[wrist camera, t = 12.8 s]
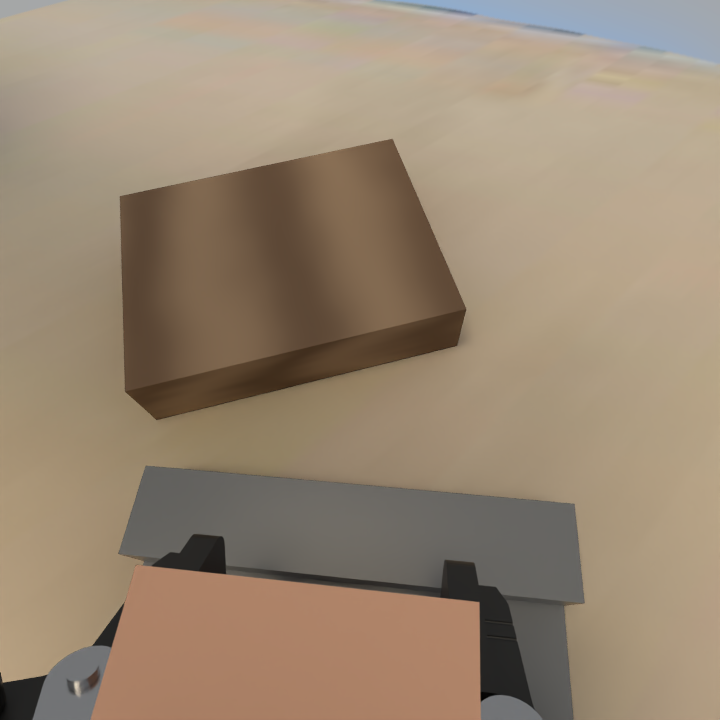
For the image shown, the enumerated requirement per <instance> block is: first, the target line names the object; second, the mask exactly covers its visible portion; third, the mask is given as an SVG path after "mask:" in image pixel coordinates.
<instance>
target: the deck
mask: <svg viewBox="0 0 720 720" xmlns="http://www.w3.org/2000/svg"><path fill="white" fill-rule="evenodd" d="M120 216H121V254H122V292H123V330H124V367H125V392H126V393H127V394H129V395H130V396H131V397H132V398H133V399H134V400H135V401H136V402H137V403H139V404H140V405H141V406H142V407H143V408H144V409H145V410H146V411H147V412H148V413H150V414H151V415H152V416H153V417H154V418H155V419H156V420H157V419H161V418H165V417H169V416H173V415H177V414H181V413H185V412H190V411H194V410H198V409H202V408H206V407H210V406H214V405H218V404H222V403H226V402H230V401H234V400H238V399H242V398H246V397H250V396H254V395H258V394H262V393H266V392H270V391H274V390H279V389H283V388H287V387H291V386H295V385H299V384H303V383H307V382H311V381H315V380H319V379H323V378H327V377H331V376H335V375H339V374H343V373H347V372H351V371H355V370H359V369H364V368H368V367H372V366H376V365H380V364H384V363H388V362H392V361H396V360H400V359H404V358H408V357H412V356H416V355H420V354H424V353H428V352H432V351H436V350H440V349H444V348H449V347H453V346H457V343H458V339H459V335H460V332H461V328H462V324H463V320H464V316H465V312H466V307H465V305H464V303H463V301H462V298H461V296H460V294H459V291H458V289H457V287H456V284H455V282H454V280H453V277H452V275H451V273H450V271H449V268H448V266H447V264H446V261H445V259H444V257H443V254H442V252H441V250H440V247H439V245H438V243H437V241H436V238H435V236H434V234H433V231H432V229H431V227H430V224H429V222H428V220H427V218H426V215H425V213H424V211H423V208H422V206H421V204H420V201H419V199H418V197H417V194H416V192H415V190H414V188H413V185H412V183H411V181H410V178H409V176H408V174H407V171H406V169H405V167H404V164H403V162H402V160H401V158H400V155H399V153H398V151H397V148H396V146H395V144H394V141H393V139H390V140H385V141H380V142H375V143H371V144H366V145H361V146H356V147H352V148H347V149H342V150H337V151H333V152H328V153H323V154H318V155H314V156H309V157H304V158H299V159H295V160H290V161H285V162H280V163H276V164H271V165H266V166H261V167H257V168H252V169H247V170H243V171H238V172H233V173H228V174H224V175H219V176H214V177H209V178H205V179H200V180H195V181H190V182H186V183H181V184H176V185H171V186H167V187H162V188H157V189H152V190H148V191H143V192H138V193H133V194H129V195H124V196H120Z"/></svg>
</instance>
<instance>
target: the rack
mask: <svg viewBox="0 0 720 720" xmlns="http://www.w3.org/2000/svg"><path fill="white" fill-rule="evenodd" d="M193 534H203V535H213V536H222V537H223V538H224V541H225V558H226V575H235V576H244V577H253V578H262V579H271V580H280V581H290V582H299V583H308V584H317V585H326V586H336V587H345V588H354V589H363V590H372V591H382V592H391V593H400V594H409V595H418V596H427V597H437V598H440V595H441V585H442V576H443V567H444V561H445V560H455V561H464V562H474V563H475V567H476V573H477V578H478V584H479V585H483V586H493V587H496V588H497V589H498V590H499V592H500V593H501V594H502V596H503V597H504V598H505V600H506V601H507V603H508V604H509V608H510V612H511V616H512V621H513V626H514V629H515V633H516V637H517V642H518V645H519V650H520V654H521V658H522V662H523V666H524V670H525V674H526V679H527V683H528V687H529V691H530V695H531V699H532V703H533V706H534V709H535V711H536V712H537V713H538V714H539V715H540V716H541V718H542V719H543V720H573V709H572V697H571V685H570V673H569V661H568V649H567V637H566V625H565V613H564V606H566V605H575V604H583V603H584V593H583V583H582V573H581V563H580V553H579V543H578V533H577V524H576V514H575V504H570V503H558V502H549V501H538V500H527V499H516V498H504V497H493V496H482V495H471V494H459V493H448V492H437V491H426V490H415V489H403V488H392V487H381V486H370V485H359V484H347V483H336V482H325V481H314V480H302V479H291V478H280V477H269V476H258V475H246V474H235V473H224V472H213V471H201V470H190V469H179V468H166V467H155V466H145V469H144V473H143V476H142V479H141V482H140V486H139V489H138V492H137V495H136V499H135V502H134V505H133V508H132V512H131V515H130V518H129V521H128V524H127V528H126V531H125V534H124V537H123V541H122V544H121V547H120V550H119V554H120V555H124V556H128V557H132V558H135V559H139V560H143V561H144V563H143V566H152V565H153V564H154V563H155V562H157V561H158V560H160V559H161V558H162V557H164V556H165V555H167V554H168V553H169V552H175V553H180V552H181V550H182V549H183V547H184V546H185V545H186V543H187V542H188V540H189V539H190V537H191V536H192V535H193Z"/></svg>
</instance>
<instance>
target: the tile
mask: <svg viewBox="0 0 720 720" xmlns="http://www.w3.org/2000/svg"><path fill="white" fill-rule="evenodd" d="M91 720H481V698H480V609H479V602H473V601H464V600H455V599H446V598H437V597H427V596H418V595H409V594H400V593H391V592H382V591H372V590H363V589H354V588H345V587H336V586H326V585H317V584H308V583H299V582H290V581H280V580H271V579H262V578H253V577H244V576H235V575H225V574H216V573H207V572H198V571H189V570H179V569H170V568H161V567H152V566H143V565H136V566H135V570H134V573H133V577H132V580H131V583H130V587H129V590H128V594H127V597H126V600H125V604H124V607H123V611H122V614H121V617H120V621H119V624H118V628H117V631H116V635H115V638H114V641H113V645H112V648H111V652H110V655H109V658H108V662H107V665H106V669H105V672H104V675H103V679H102V682H101V686H100V689H99V693H98V696H97V699H96V703H95V706H94V710H93V713H92V716H91Z"/></svg>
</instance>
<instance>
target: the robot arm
mask: <svg viewBox="0 0 720 720" xmlns="http://www.w3.org/2000/svg"><path fill="white" fill-rule="evenodd" d="M152 567H161V568H170V569H179V570H189V571H198V572H207V573H216V574H225V575H226V558H225V541H224V538H223V537H222V536H213V535H203V534H193V535H192V536H191V537H190V539H189V540H188V542H187V543H186V545H185V546H184V547H183V549H182V550H181V552H180V553H175V552H169V553H168V554H167V555H165V556H164V557H162V558H161V559H160V560H158V561H157V562H155V563H154V564H153V565H152ZM440 598H446V599H455V600H464V601H473V602H479V609H480V698H481V720H543V719H542V718H541V716H540V715H539V714H538V713H537V712H536V711H535V709H534V706H533V703H532V699H531V695H530V691H529V687H528V683H527V679H526V674H525V670H524V666H523V662H522V658H521V654H520V650H519V645H518V642H517V637H516V633H515V629H514V626H513V621H512V616H511V612H510V608H509V604H508V603H507V601H506V600H505V598H504V597H503V596H502V594H501V593H500V592H499V590H498V589H497V588H496V587H493V586H483V585H479V584H478V578H477V573H476V567H475V563H474V562H464V561H455V560H445V561H444V567H443V576H442V585H441V595H440ZM124 604H125V602H124ZM124 604H123V605H122V607H121V608H120V609H119V611H118V612H117V613H116V615H115V616H114V617H113V619H112V620H111V621H110V623H109V624H108V625H107V627H106V628H105V630H104V631H103V632H102V634H101V635H100V636H99V638H98V639H97V640H96V642H95V643H94V644H93V646H91V647H87V648H83V649H80V650H78V651H76V652H74V653H72V654H70V655H68V656H67V657H65V658H64V659H62V660H61V661H60V662H59V663H57V664H56V665H55V666H54V667H53V669H52V670H51V671H50V672H49V674H48V675H45V676H40V677H35V678H29V679H23V680H17V681H11V682H5V683H3V682H2V677H1V673H0V720H91V716H92V713H93V710H94V706H95V703H96V699H97V696H98V693H99V689H100V686H101V682H102V679H103V675H104V672H105V669H106V665H107V662H108V658H109V655H110V652H111V648H112V645H113V641H114V638H115V635H116V631H117V628H118V624H119V621H120V617H121V614H122V611H123V607H124Z"/></svg>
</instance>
